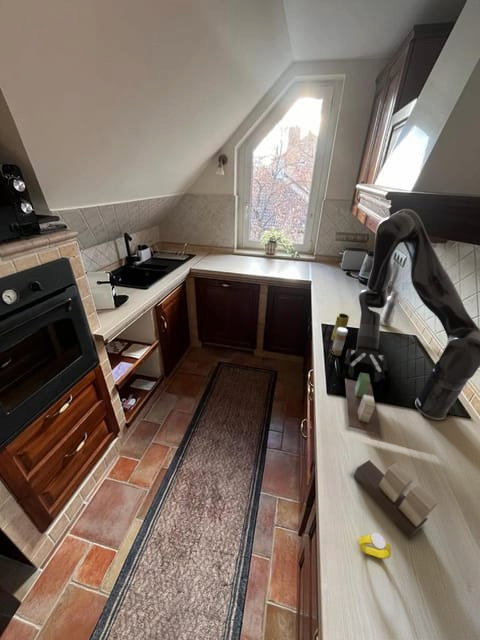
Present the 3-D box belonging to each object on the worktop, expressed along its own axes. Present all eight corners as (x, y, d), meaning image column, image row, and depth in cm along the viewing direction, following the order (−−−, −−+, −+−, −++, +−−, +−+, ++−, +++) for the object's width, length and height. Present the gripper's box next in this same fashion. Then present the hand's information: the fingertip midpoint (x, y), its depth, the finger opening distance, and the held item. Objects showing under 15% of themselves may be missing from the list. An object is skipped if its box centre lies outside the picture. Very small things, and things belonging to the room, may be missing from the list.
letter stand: (365, 467, 73) (377, 441, 67) (421, 526, 61) (442, 501, 55) (353, 475, 71) (365, 450, 65) (408, 538, 59) (429, 514, 53)
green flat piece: (355, 395, 96) (361, 380, 92) (354, 387, 100) (360, 372, 96) (364, 397, 95) (370, 381, 91) (363, 389, 99) (368, 373, 95)
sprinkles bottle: (333, 349, 123) (340, 325, 117) (342, 353, 121) (349, 329, 114) (329, 353, 120) (335, 329, 114) (338, 357, 118) (345, 333, 111)
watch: (384, 550, 57) (393, 538, 54) (387, 565, 55) (396, 554, 52) (356, 539, 59) (363, 527, 56) (357, 554, 56) (364, 542, 53)
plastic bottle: (388, 328, 141) (401, 296, 131) (376, 324, 145) (387, 292, 135) (392, 324, 145) (404, 292, 135) (379, 320, 149) (390, 288, 139)
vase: (331, 335, 134) (337, 312, 127) (343, 338, 132) (349, 314, 125) (330, 341, 129) (336, 317, 122) (343, 344, 127) (350, 319, 120)
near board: (344, 380, 105) (349, 363, 100) (370, 386, 102) (377, 368, 98) (348, 428, 85) (355, 410, 80) (380, 436, 82) (389, 418, 78)
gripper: (351, 332, 97) (345, 374, 93) (391, 339, 94) (387, 383, 90) (346, 336, 104) (341, 375, 100) (384, 343, 101) (380, 384, 97)
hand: (363, 379), depth 95 cm, fingers open, 8 cm apart
